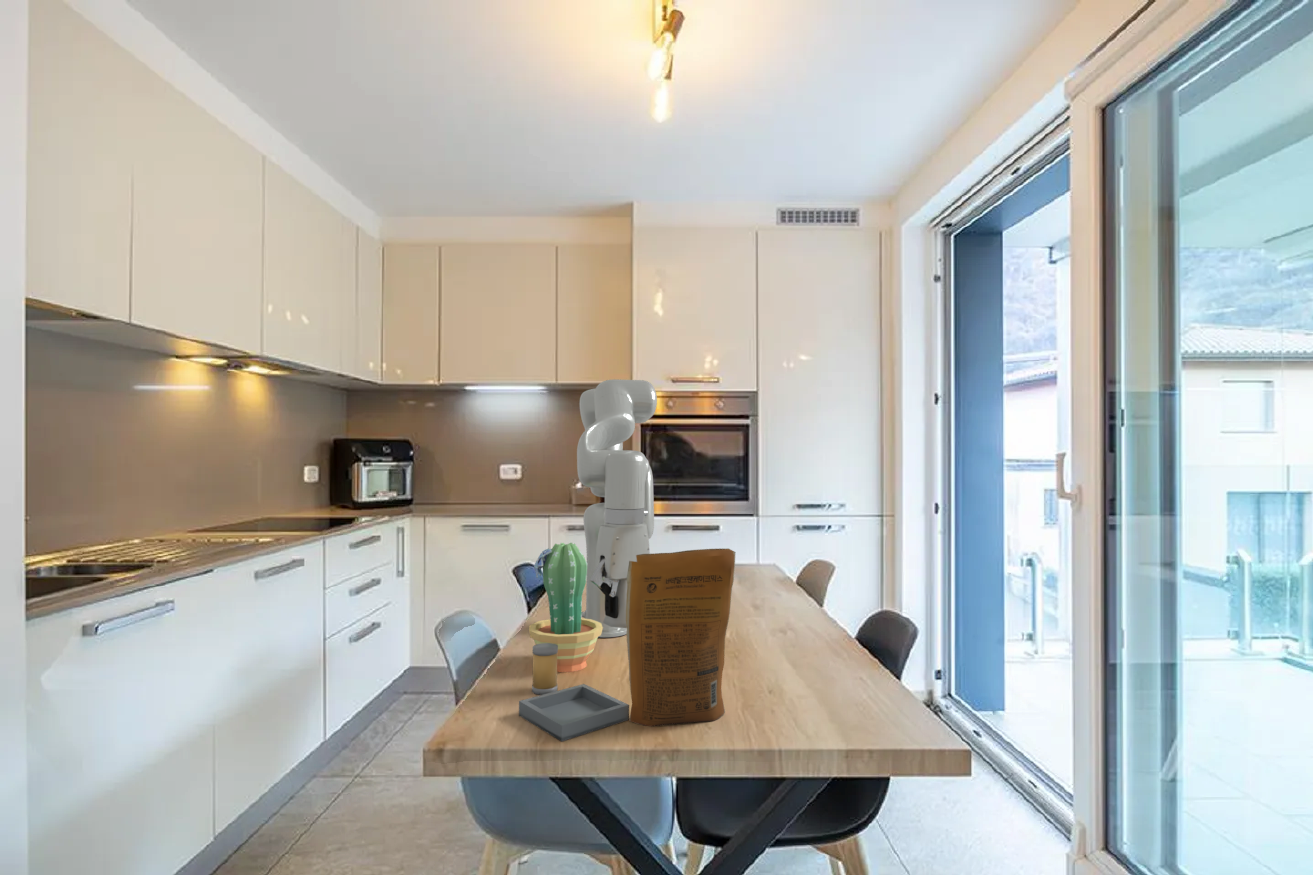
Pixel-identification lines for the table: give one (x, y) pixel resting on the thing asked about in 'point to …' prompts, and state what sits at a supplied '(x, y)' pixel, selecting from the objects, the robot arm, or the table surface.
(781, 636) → the table surface
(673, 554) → the pancake mix bag
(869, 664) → the table surface
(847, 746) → the table surface
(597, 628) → the potted cactus
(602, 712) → the tray
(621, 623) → the flask
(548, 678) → the fuse
